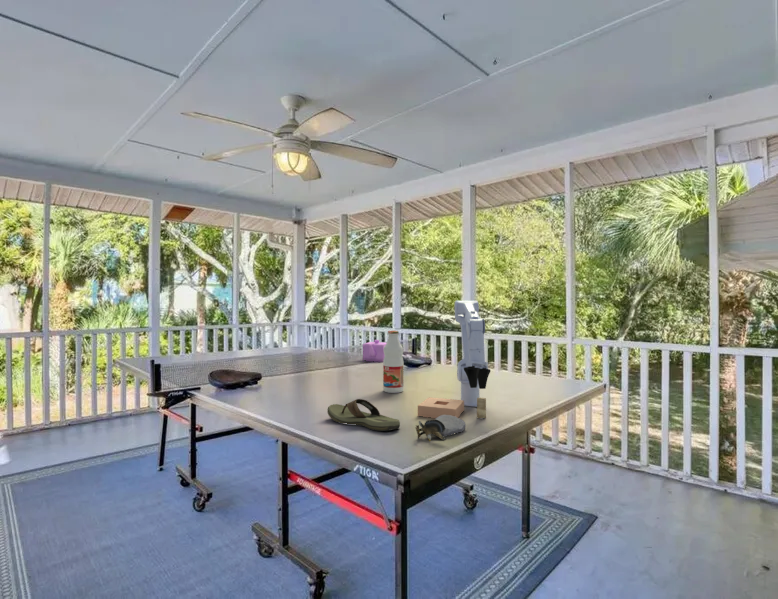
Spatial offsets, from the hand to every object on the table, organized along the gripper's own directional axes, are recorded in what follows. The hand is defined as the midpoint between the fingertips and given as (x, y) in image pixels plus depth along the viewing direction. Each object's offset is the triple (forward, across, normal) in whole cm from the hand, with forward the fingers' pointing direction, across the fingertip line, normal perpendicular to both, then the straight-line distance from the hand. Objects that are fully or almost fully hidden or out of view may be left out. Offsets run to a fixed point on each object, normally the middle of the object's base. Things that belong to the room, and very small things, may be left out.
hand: (478, 388), depth 158 cm
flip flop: (+13, -27, +32) cm, 43 cm away
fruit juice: (-1, +20, +52) cm, 55 cm away
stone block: (+15, -17, +4) cm, 23 cm away
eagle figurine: (+17, -27, +4) cm, 32 cm away
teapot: (-25, +88, +114) cm, 146 cm away
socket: (+9, 0, +15) cm, 18 cm away
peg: (+10, +4, +1) cm, 11 cm away
